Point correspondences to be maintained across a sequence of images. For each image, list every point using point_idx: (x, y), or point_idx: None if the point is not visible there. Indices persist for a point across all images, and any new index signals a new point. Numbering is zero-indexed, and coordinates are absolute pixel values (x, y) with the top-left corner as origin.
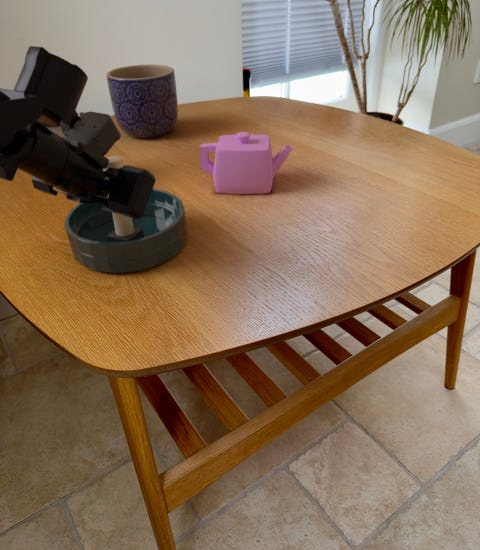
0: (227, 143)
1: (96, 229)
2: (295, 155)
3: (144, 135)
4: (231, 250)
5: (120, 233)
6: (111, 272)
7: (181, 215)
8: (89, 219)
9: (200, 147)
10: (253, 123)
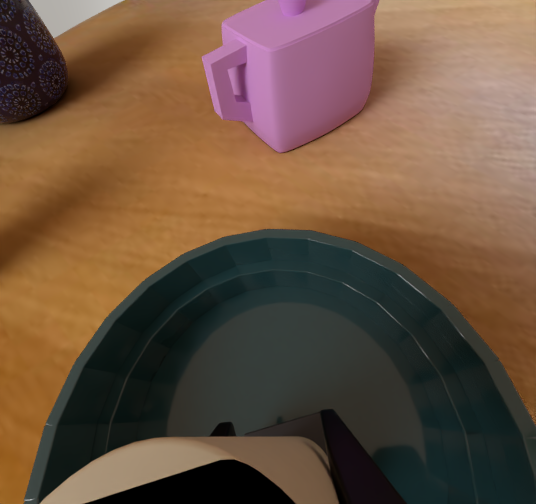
0: (266, 27)
1: None
2: None
3: (29, 110)
4: (521, 286)
5: None
6: None
7: (454, 310)
8: None
9: (211, 65)
10: (177, 23)
